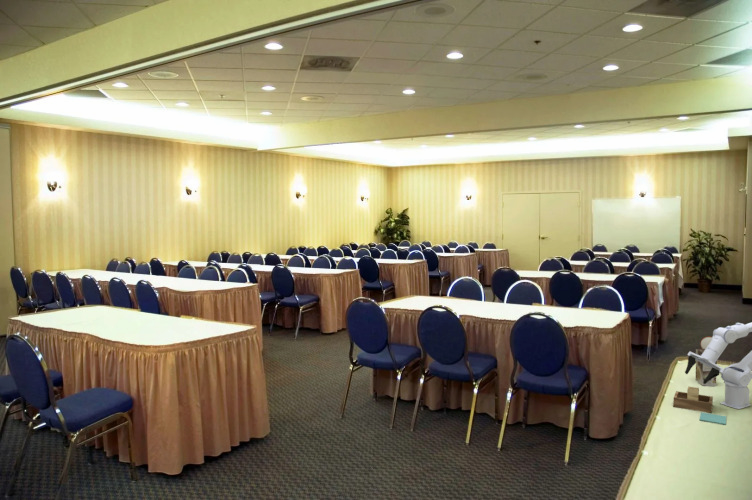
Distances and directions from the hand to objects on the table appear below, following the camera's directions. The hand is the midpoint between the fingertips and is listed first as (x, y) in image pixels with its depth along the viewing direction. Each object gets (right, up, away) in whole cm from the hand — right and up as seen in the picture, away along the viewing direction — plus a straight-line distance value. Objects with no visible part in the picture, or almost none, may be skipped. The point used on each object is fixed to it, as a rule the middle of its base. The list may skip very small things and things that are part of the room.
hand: (694, 378), depth 231 cm
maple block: (+2, -11, +5) cm, 12 cm away
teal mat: (+2, -15, -9) cm, 17 cm away
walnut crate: (+2, -13, +5) cm, 15 cm away
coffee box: (+26, -11, +35) cm, 44 cm away
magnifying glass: (+35, -10, +47) cm, 59 cm away
